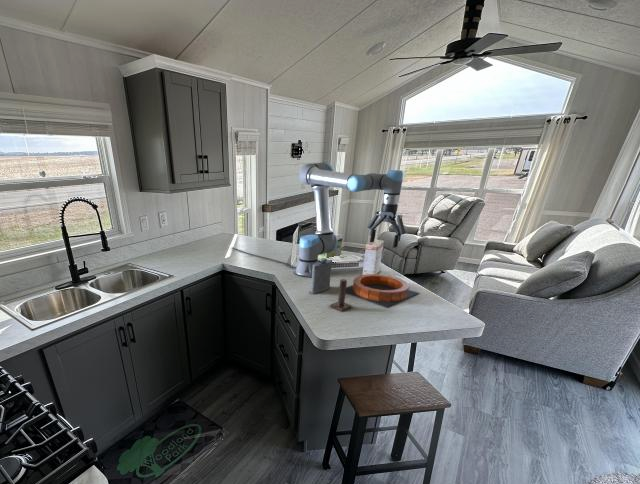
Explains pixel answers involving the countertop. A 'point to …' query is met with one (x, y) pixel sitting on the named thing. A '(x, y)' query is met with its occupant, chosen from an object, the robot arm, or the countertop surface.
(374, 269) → the coffeecake box
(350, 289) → the mat
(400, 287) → the ring
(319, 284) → the grey flat box
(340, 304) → the post
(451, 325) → the countertop surface
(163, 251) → the countertop surface
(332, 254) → the protein box
